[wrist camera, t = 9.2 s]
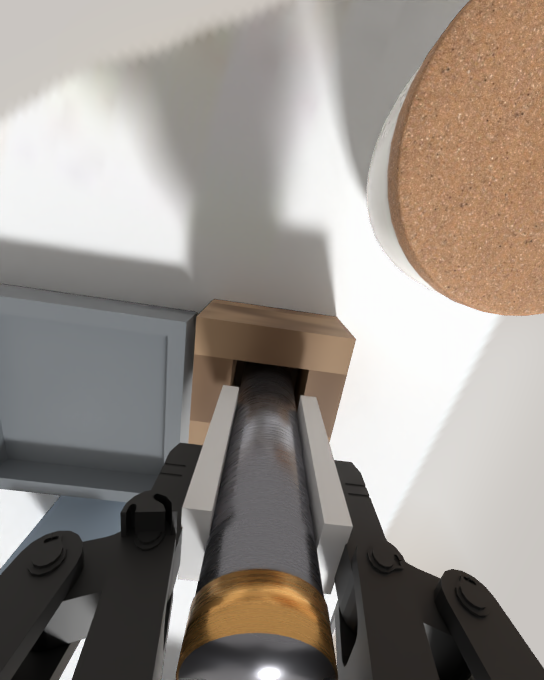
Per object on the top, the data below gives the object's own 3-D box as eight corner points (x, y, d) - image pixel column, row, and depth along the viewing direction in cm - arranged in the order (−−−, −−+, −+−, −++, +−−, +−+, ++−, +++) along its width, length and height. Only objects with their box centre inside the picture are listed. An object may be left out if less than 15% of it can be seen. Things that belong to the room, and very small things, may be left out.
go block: (204, 407, 21) (187, 449, 17) (213, 299, 18) (196, 316, 14) (312, 420, 21) (323, 465, 17) (336, 316, 19) (355, 339, 14)
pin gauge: (240, 388, 19) (172, 717, 6) (246, 345, 18) (179, 624, 5) (286, 394, 19) (320, 727, 6) (294, 352, 18) (355, 639, 5)
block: (68, 545, 26) (10, 632, 20) (62, 493, 24) (-4, 573, 18) (136, 552, 26) (99, 639, 20) (136, 501, 24) (94, 582, 18)
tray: (5, 460, 22) (-27, 485, 20) (-29, 279, 18) (-75, 285, 16) (186, 480, 23) (176, 507, 21) (197, 311, 19) (186, 322, 16)
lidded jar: (310, 243, 17) (351, 245, 8) (405, 31, 14) (635, -324, 5) (458, 312, 19) (627, 377, 10) (575, 134, 16) (983, -8, 7)
